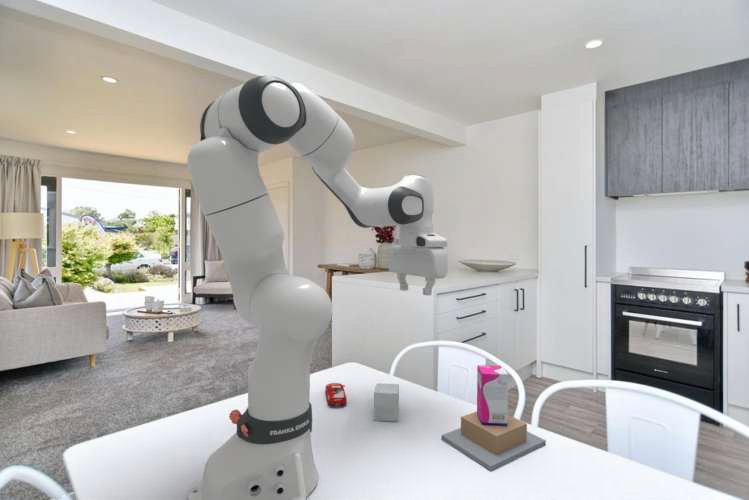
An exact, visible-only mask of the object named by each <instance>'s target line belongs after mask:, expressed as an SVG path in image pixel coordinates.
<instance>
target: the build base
mask: <svg viewBox="0 0 749 500" xmlns="http://www.w3.org/2000/svg"><path fill="white" fill-rule="evenodd" d="M527 430H528V423H527V422H524V421H523V420H520V419H519V418H516V417H514V416H511V415H509V414H508V426H499V425H481V422H480V420H479V417H478V414H477V410H476V411H473V412H471V413H468V414H465V415H462V416H460V428H457V429H454V430H451V431H449V432H446V433H444V434H441V437H440V439H441V440H442V441H443V442H445V443H446V444H447V445H449V446H450V447H453V448H454V449H456V450H457V451H458V452H460V453H462V454H463V455H465V456H466V457H467V458H469V459H471V460H472V461H474V462H475V463H477V464H479V465H480V466H482V467H483V468H484V469H487V470H488V471H490V472H492V471H495V470H496V469H499V468H500V467H502V466H505V465H507V464H509V463H511V462H513V461H514V460H515V461H516V460H517V459H519V458H521V457H523V456H525V455H528V454H530V453H532V452H533V451H536V450H538V449H540V448H542V447H544V446H546V445H547V444H546V443H547V441H546V439H543V438H541V437H539V436H537V435H535V434H533V433H531V432H529V431H527Z"/></svg>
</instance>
